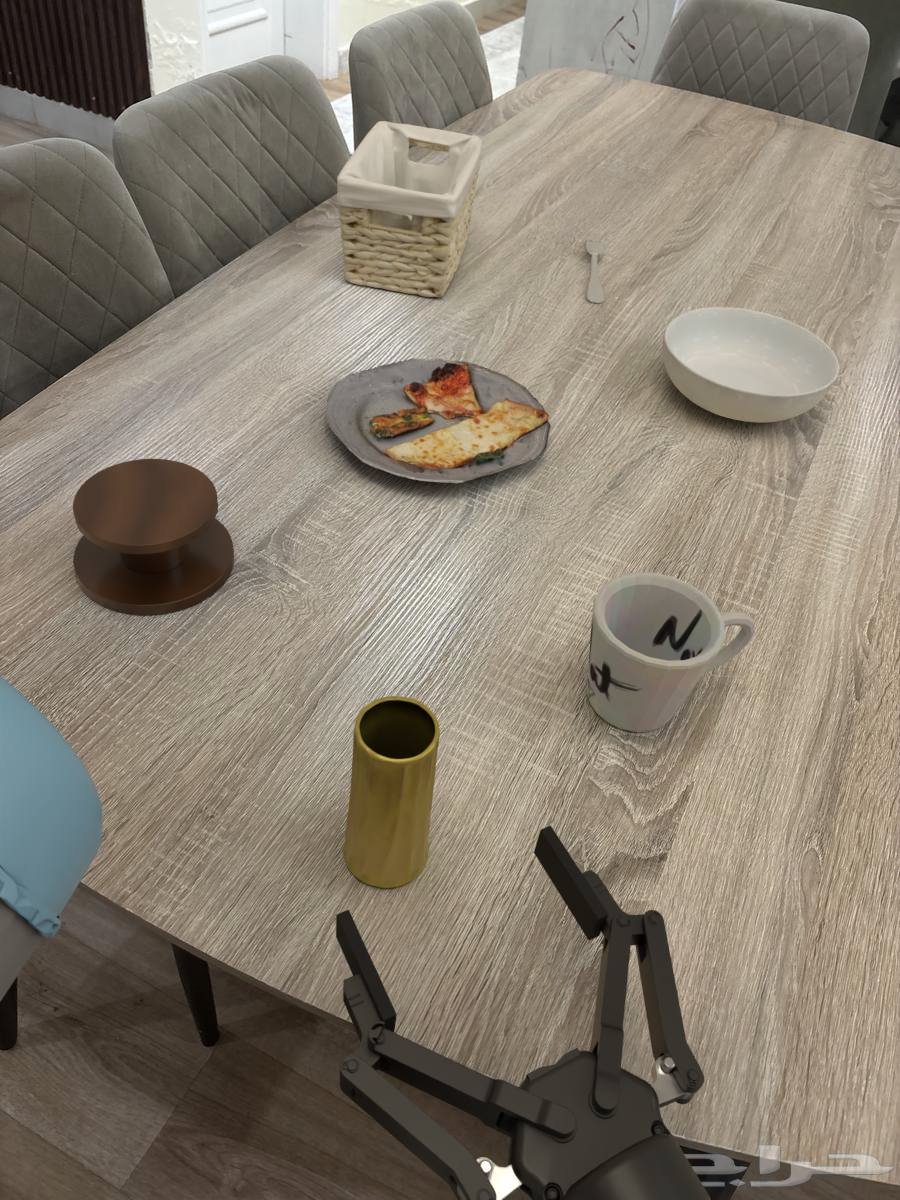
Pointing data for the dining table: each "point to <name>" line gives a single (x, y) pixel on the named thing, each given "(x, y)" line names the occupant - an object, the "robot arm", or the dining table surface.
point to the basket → (407, 208)
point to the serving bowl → (747, 363)
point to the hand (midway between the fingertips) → (446, 878)
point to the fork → (595, 273)
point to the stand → (150, 537)
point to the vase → (391, 791)
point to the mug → (654, 647)
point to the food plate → (437, 420)
